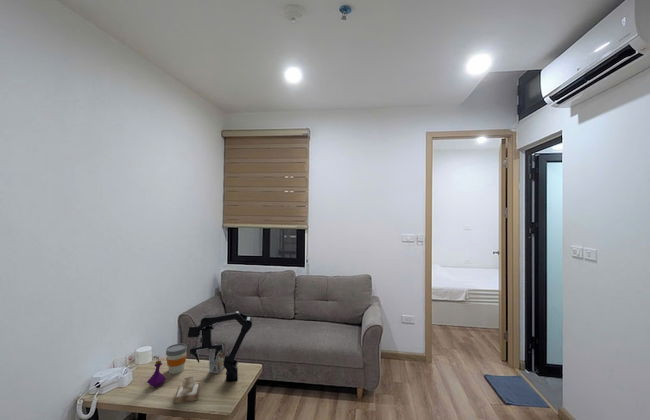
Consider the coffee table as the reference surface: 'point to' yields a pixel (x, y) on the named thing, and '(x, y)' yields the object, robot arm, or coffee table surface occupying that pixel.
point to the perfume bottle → (157, 375)
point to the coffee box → (216, 360)
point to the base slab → (187, 394)
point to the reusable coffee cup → (176, 358)
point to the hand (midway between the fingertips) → (206, 361)
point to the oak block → (187, 384)
